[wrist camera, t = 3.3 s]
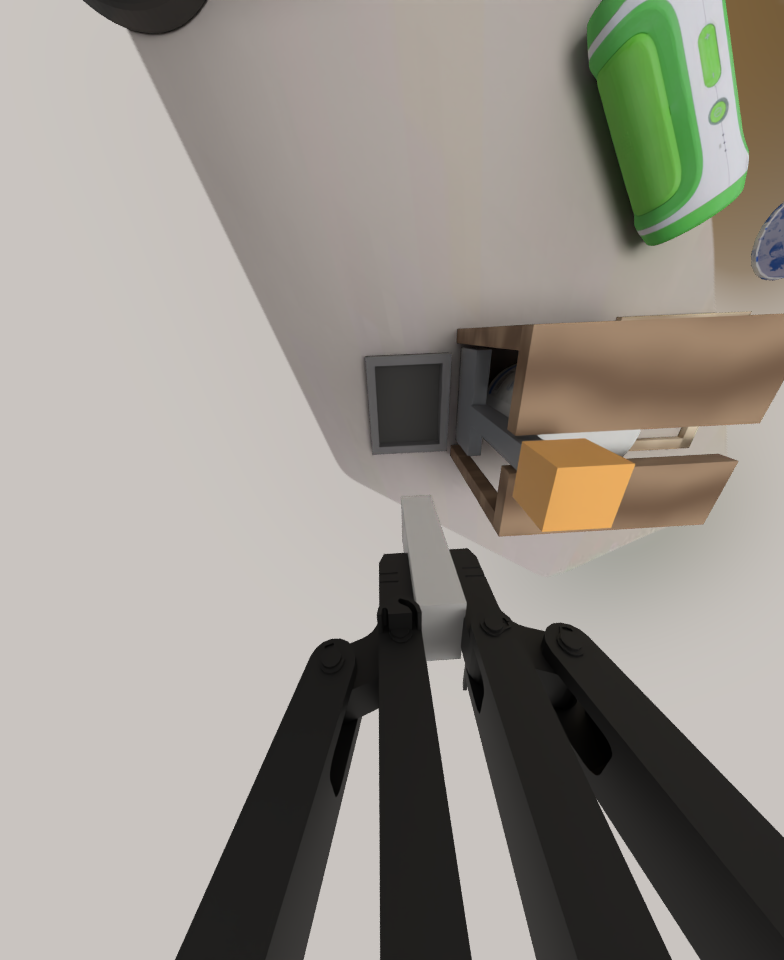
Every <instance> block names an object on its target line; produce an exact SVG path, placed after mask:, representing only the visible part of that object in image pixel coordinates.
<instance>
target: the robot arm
mask: <svg viewBox="0 0 784 960" xmlns="http://www.w3.org/2000/svg"><path fill="white" fill-rule="evenodd" d="M83 1H84V2H86V3H87V4H88V5H89V6H90V7H92V8H93V9H94V10H95V11H97V12H98V13H100V14H101V15H103V16H104V17H106V18H107V19H109V20H111V21H112V22H114V23H116V24H118V25H120V26H123V27H125V28H128V29H131V30H134V31H138V32H144V33H162V32H167V31H170V30H173V29H175V28H178V27H180V26H181V25H183V24H184V23H186V22H187V21H188V20H190V19H191V18H192V17H193V16H194V15H195V14H196V13H197V12H198V10H199V9H200V8H201V6H202V5H203V3H204V2H205V0H83ZM401 506H402V507H401V508H402V541H403V549H404V553H396V554H384V555H383V557H382V559H381V561H380V563H379V608H378V612H377V622H378V624H377V626H376V627H375V629H374V630H373V632H372V633H370V634H369V635H368V636H366V637H364V638H362V639H360V640H357V641H355V642H353V643H349V642H348V641H345V640H343V639H330V640H328V641H325V642H323V643H322V644H320V645H319V646H318V647H317V648H316V649H315V650H314V652H313V653H312V655H311V656H310V659H309V661H308V663H307V665H306V668H305V670H304V672H303V674H302V676H301V679H300V681H299V683H298V685H297V688H296V690H295V692H294V695H293V697H292V699H291V701H290V703H289V706H288V708H287V710H286V712H285V715H284V717H283V719H282V721H281V724H280V726H279V728H278V730H277V733H276V735H275V737H274V739H273V741H272V744H271V746H270V748H269V750H268V753H267V755H266V757H265V760H264V762H263V764H262V766H261V769H260V771H259V773H258V775H257V777H256V780H255V782H254V784H253V786H252V789H251V791H250V793H249V796H248V798H247V800H246V802H245V804H244V806H243V809H242V811H241V813H240V816H239V818H238V820H237V822H236V824H235V827H234V829H233V831H232V833H231V836H230V838H229V840H228V842H227V845H226V847H225V849H224V851H223V854H222V856H221V858H220V861H219V863H218V865H217V867H216V869H215V871H214V874H213V876H212V878H211V881H210V883H209V885H208V887H207V889H206V892H205V894H204V896H203V899H202V901H201V903H200V905H199V908H198V910H197V912H196V914H195V916H194V919H193V921H192V923H191V925H190V928H189V930H188V932H187V934H186V936H185V939H184V941H183V943H182V945H181V948H180V950H179V952H178V954H177V957H176V959H175V960H303V959H304V955H305V951H306V947H307V943H308V938H309V934H310V929H311V926H312V922H313V918H314V913H315V910H316V905H317V901H318V897H319V892H320V889H321V885H322V881H323V876H324V872H325V868H326V864H327V859H328V856H329V852H330V847H331V843H332V839H333V835H334V831H335V827H336V823H337V818H338V814H339V810H340V806H341V802H342V797H343V793H344V789H345V785H346V781H347V777H348V772H349V769H350V765H351V760H352V756H353V752H354V748H355V744H356V740H357V736H358V731H359V727H360V723H361V719H362V716H364V715H366V714H368V713H370V712H372V711H374V710H376V709H378V708H379V801H380V803H379V809H380V810H379V812H380V813H379V814H380V960H472V958H471V951H470V945H469V939H468V932H467V925H466V919H465V912H464V906H463V899H462V892H461V886H460V880H459V873H458V866H457V860H456V853H455V846H454V840H453V833H452V827H451V820H450V813H449V807H448V801H447V794H446V787H445V782H444V774H443V768H442V761H441V754H440V748H439V741H438V735H437V728H436V722H435V715H434V709H433V702H432V695H431V689H430V682H429V676H428V669H427V662H426V661H433V660H448V659H460V658H461V650H462V653H463V657H464V661H465V669H464V678H463V690H467V687H468V691H469V695H470V699H471V703H472V706H473V711H474V715H475V718H476V723H477V726H478V730H479V734H480V738H481V742H482V746H483V750H484V754H485V758H486V762H487V766H488V770H489V774H490V778H491V782H492V786H493V789H494V794H495V798H496V802H497V805H498V809H499V813H500V817H501V821H502V825H503V829H504V833H505V837H506V841H507V845H508V849H509V853H510V857H511V861H512V865H513V868H514V873H515V877H516V881H517V885H518V888H519V892H520V896H521V900H522V904H523V908H524V912H525V916H526V920H527V924H528V928H529V932H530V936H531V940H532V944H533V948H534V952H535V956H536V959H537V960H672V959H671V957H670V955H669V953H668V951H667V949H666V946H665V944H664V942H663V940H662V938H661V936H660V933H659V931H658V929H657V927H656V925H655V923H654V921H653V919H652V916H651V914H650V912H649V910H648V908H647V906H646V904H645V902H644V900H643V897H642V895H641V893H640V891H639V889H638V887H637V884H636V882H635V880H634V878H633V876H632V874H631V872H630V870H629V868H628V865H627V863H626V861H625V859H624V857H623V855H622V853H621V851H620V849H619V846H618V844H617V842H616V840H615V838H614V836H613V833H612V831H611V829H610V827H609V825H608V823H607V821H606V819H605V816H604V814H603V812H602V810H601V808H600V806H599V804H598V802H599V803H600V805H601V806H602V808H603V809H604V811H605V813H606V814H607V815H608V817H609V819H610V820H611V821H612V823H613V825H614V826H615V828H616V830H617V831H618V832H619V834H620V836H621V837H622V839H623V840H624V842H625V843H626V845H627V846H628V848H629V849H630V851H631V853H632V854H633V856H634V857H635V859H636V860H637V862H638V864H639V865H640V867H641V868H642V870H643V871H644V873H645V874H646V876H647V878H648V879H649V881H650V882H651V883H652V885H653V887H654V888H655V890H656V891H657V893H658V894H659V896H660V898H661V899H662V901H663V902H664V904H665V905H666V907H667V908H668V910H669V911H670V913H671V915H672V916H673V918H674V919H675V921H676V922H677V924H678V925H679V927H680V929H681V930H682V932H683V933H684V935H685V936H686V938H687V939H688V941H689V942H690V944H691V945H692V947H693V949H694V950H695V952H696V953H697V955H698V956H699V958H700V960H784V837H782V835H781V834H780V833H779V832H778V831H777V830H776V829H775V828H774V827H773V826H772V825H771V824H770V823H769V822H768V821H767V820H766V819H765V818H764V817H763V816H762V815H761V814H760V813H759V812H758V811H757V810H756V809H755V808H754V807H753V806H752V804H751V803H750V802H749V801H748V800H747V799H746V798H745V797H744V796H743V795H742V794H741V793H740V792H739V791H738V790H737V789H736V788H735V787H734V786H733V785H732V784H731V783H730V782H729V781H728V780H727V779H726V778H725V777H724V776H723V775H722V774H721V773H720V772H719V770H718V769H717V768H716V767H715V766H714V765H713V764H712V763H711V762H710V761H709V760H708V759H707V758H706V757H705V756H704V755H703V754H702V753H701V752H700V751H699V750H698V749H697V748H696V747H695V746H694V745H693V744H692V743H691V742H690V741H689V740H688V739H687V737H686V736H685V735H684V734H683V733H681V732H680V730H679V729H678V728H677V727H676V726H675V725H674V724H673V723H672V722H671V721H670V720H669V719H668V718H667V717H666V716H665V715H664V714H663V713H662V712H661V711H660V710H659V709H658V708H657V707H656V706H655V705H654V704H653V702H652V701H650V699H649V698H648V697H647V696H646V695H644V694H643V692H642V691H641V690H640V689H639V688H638V687H637V686H636V685H635V684H634V683H633V682H632V681H631V680H630V679H629V678H628V677H627V676H626V675H625V674H624V673H623V672H622V671H621V670H620V669H619V667H617V665H616V664H615V663H614V662H613V661H612V660H611V659H610V658H609V657H608V656H607V655H606V654H605V653H604V652H603V651H602V650H601V649H600V648H599V647H598V646H597V645H596V644H595V643H594V642H593V641H592V640H591V639H590V638H589V637H588V636H587V635H586V634H585V633H583V632H582V631H581V630H580V629H578V628H576V627H573V626H572V625H569V624H564V623H553V624H551V625H550V626H548V627H547V628H546V631H541V630H537V629H533V628H528V627H524V626H521V625H518V624H517V623H515V622H513V621H512V620H511V619H510V618H509V617H508V616H507V615H505V613H503V612H502V611H501V610H500V608H499V606H498V604H497V602H496V600H495V597H494V595H493V593H492V591H491V588H490V586H489V584H488V582H487V579H486V577H485V576H484V573H483V570H482V568H481V566H480V564H479V562H478V559H477V557H476V556H475V555H474V554H473V553H472V552H471V551H470V550H469V549H467V548H465V549H450V550H449V548H448V545H447V542H446V539H445V536H444V533H443V530H442V527H441V524H440V521H439V518H438V515H437V512H436V509H435V506H434V503H433V500H432V497H431V495H421V496H404V497H401ZM597 800H598V802H597Z"/></svg>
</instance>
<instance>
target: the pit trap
mask: <svg viewBox="0 0 784 960" xmlns="http://www.w3.org/2000/svg"><path fill="white" fill-rule="evenodd" d="M451 360H452V353H427V354H404V355H382V356H366V357H365V362H366V375H367V389H368V402H369V416H370V429H371V442H372V455H377V454H396V453H415V452H434V451H447V436H448V417H449V398H450V379H451Z"/></svg>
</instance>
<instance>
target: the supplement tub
mask: <svg viewBox="0 0 784 960" xmlns="http://www.w3.org/2000/svg"><path fill="white" fill-rule="evenodd" d="M516 367H517V363H516V364H514V365H511V366H509V367H507V368H506V369H504V370H503V371H501V372H500V373H499V374H498V375H497V376H496V377H495V378H494V380H493V381H492V382H491V384H490V386H489V387H488V390H487V399H486V405H487V404H488V405H490V406H491V407H493V408H494V409H496V410H498V411H499V412H501V413H502V414H504V415H505V416H507V417H509V413H510V407H511V400H512V393H513V387H514V380H515V373H516ZM640 431H641V429H638V430H618V431H599V432H580V433H560V434H541V435H537V436H538V437H540V438H541V439H543V440H559V439H578V438H585V439H587V440H589V441H591V442H593V443H595V444H597V445H599V446H601V447H603V448H605V449H607V450H609V451H611V452H613V453H615V454H617V455H619V456H621V457H623V456H624V455H625V454H626V453H627V452H628V451H629V450H630V448H631V447H632V446H633V444H634V443H635V441H636V439H637V437H638V435H639V433H640Z"/></svg>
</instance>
